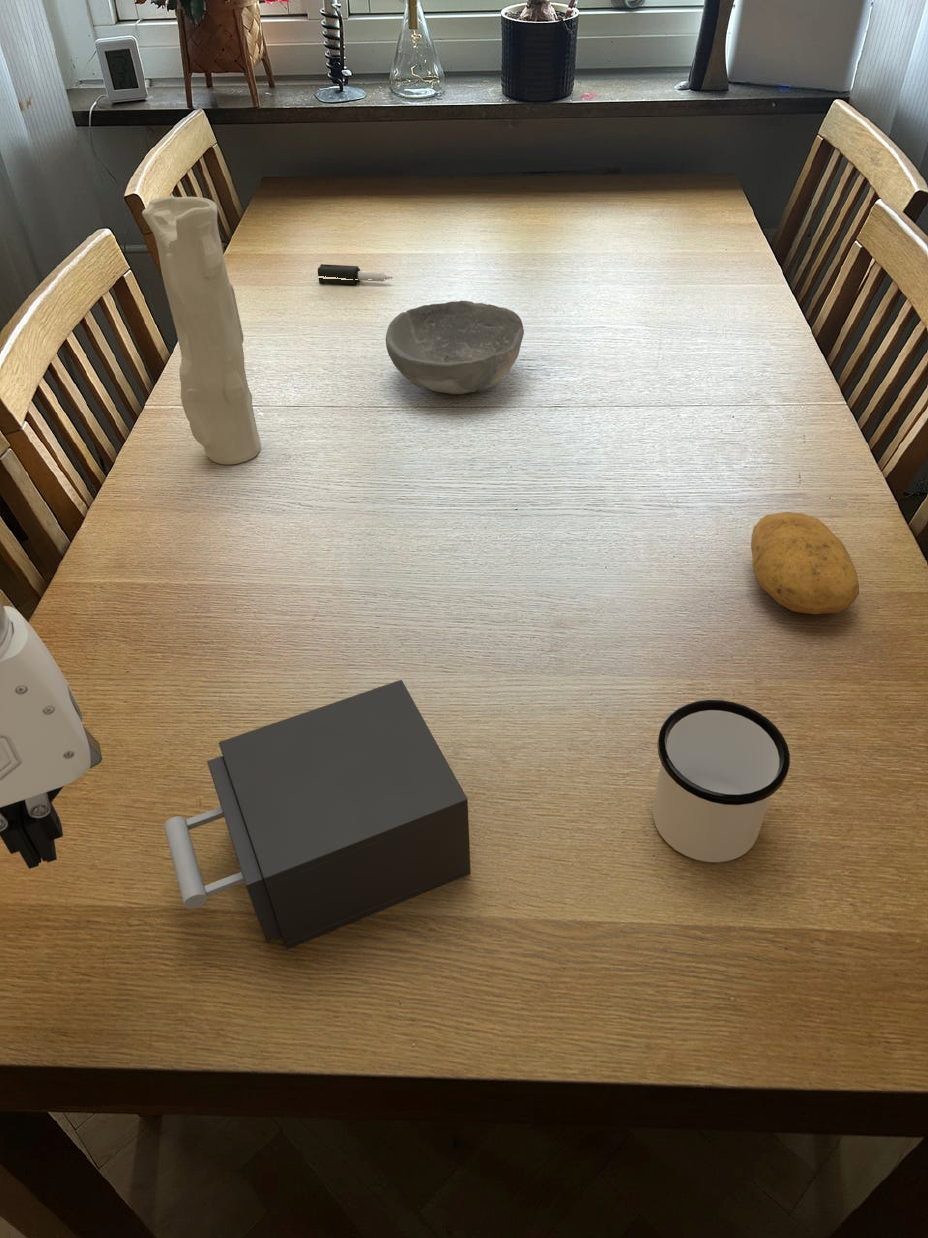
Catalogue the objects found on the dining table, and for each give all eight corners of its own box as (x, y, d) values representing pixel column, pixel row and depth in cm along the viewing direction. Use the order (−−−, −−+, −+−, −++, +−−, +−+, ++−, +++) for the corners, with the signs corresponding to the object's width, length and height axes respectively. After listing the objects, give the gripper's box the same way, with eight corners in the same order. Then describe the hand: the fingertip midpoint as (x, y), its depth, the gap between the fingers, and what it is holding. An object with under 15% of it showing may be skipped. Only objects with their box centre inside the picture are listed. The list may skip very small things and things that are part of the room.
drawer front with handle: (206, 968, 65) (180, 911, 60) (173, 841, 73) (148, 781, 67) (439, 872, 70) (434, 812, 65) (386, 763, 78) (377, 701, 72)
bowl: (362, 387, 125) (356, 331, 119) (448, 338, 134) (446, 285, 129) (463, 432, 116) (461, 373, 111) (548, 376, 126) (550, 320, 120)
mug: (770, 878, 70) (797, 807, 64) (643, 862, 71) (657, 792, 65) (759, 753, 79) (781, 680, 72) (646, 741, 80) (658, 668, 74)
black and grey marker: (319, 284, 149) (391, 288, 147) (317, 269, 148) (390, 273, 146) (323, 277, 151) (395, 281, 149) (321, 262, 149) (393, 266, 148)
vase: (272, 463, 112) (221, 207, 92) (202, 478, 110) (133, 221, 90) (259, 427, 118) (208, 180, 98) (192, 441, 116) (125, 192, 96)
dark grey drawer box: (286, 950, 67) (263, 879, 60) (242, 816, 75) (218, 741, 69) (471, 873, 71) (468, 799, 64) (409, 755, 79) (401, 679, 73)
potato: (763, 635, 89) (778, 580, 84) (731, 551, 98) (743, 497, 93) (859, 631, 89) (880, 576, 84) (818, 547, 98) (834, 493, 93)
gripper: (-261, 729, 41) (-89, 943, 53) (88, 631, 45) (173, 850, 58) (-242, 626, 46) (-89, 843, 58) (70, 547, 50) (152, 764, 63)
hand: (41, 846), depth 58 cm, fingers closed
